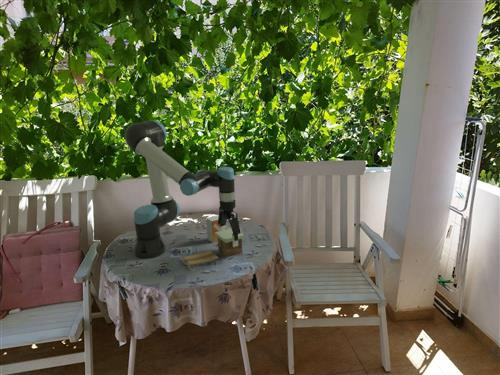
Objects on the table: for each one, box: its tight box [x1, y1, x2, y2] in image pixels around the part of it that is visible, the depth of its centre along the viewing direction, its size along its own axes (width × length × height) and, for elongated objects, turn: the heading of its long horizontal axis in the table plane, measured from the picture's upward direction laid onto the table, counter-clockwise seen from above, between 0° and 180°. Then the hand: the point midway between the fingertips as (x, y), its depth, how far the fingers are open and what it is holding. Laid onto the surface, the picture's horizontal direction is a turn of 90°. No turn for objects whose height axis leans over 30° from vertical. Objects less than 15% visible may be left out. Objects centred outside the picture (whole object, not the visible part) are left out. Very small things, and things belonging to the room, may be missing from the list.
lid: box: [215, 228, 245, 243], centre depth 190 cm, size 11×10×3 cm
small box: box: [205, 214, 225, 244], centre depth 207 cm, size 8×6×13 cm
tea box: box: [217, 238, 243, 258], centre depth 191 cm, size 8×9×9 cm
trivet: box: [182, 249, 219, 269], centre depth 187 cm, size 10×14×2 cm
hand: (229, 242), depth 191 cm, fingers closed on lid, 11 cm apart
